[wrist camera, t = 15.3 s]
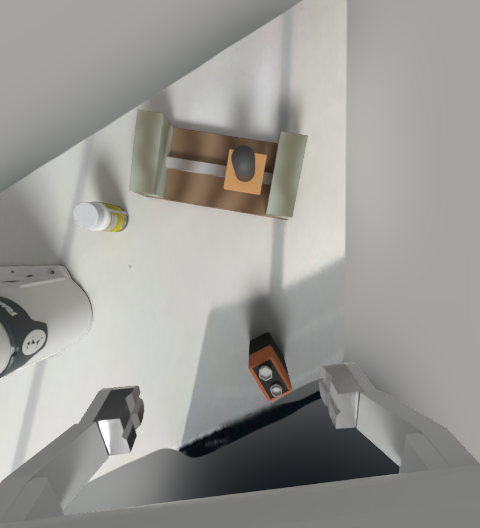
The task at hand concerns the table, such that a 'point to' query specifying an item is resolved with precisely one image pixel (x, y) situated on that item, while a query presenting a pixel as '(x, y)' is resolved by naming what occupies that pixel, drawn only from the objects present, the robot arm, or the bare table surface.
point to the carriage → (244, 170)
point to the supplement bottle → (100, 217)
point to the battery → (268, 367)
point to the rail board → (212, 168)
